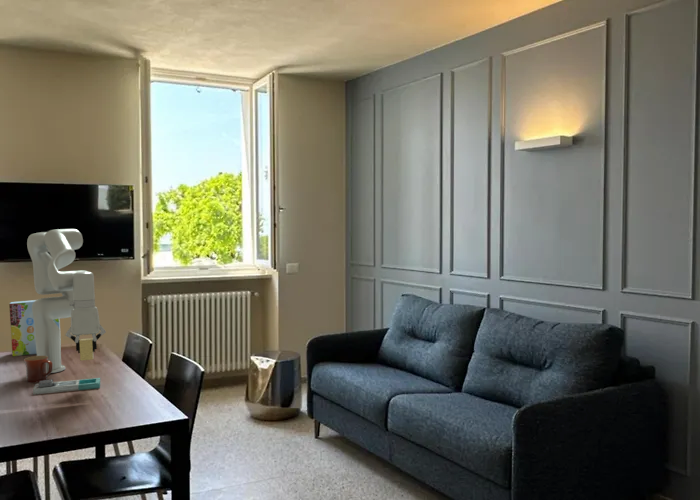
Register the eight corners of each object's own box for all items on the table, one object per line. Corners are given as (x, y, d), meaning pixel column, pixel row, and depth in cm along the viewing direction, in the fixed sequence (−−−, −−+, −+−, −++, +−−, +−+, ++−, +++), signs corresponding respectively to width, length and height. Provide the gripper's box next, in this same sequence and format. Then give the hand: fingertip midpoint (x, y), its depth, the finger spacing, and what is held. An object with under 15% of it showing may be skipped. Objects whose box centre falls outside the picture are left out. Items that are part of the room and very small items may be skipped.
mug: (19, 385, 261) (18, 359, 260) (37, 379, 269) (35, 355, 268) (43, 387, 257) (42, 361, 256) (60, 381, 265) (59, 356, 264)
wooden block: (80, 360, 249) (79, 340, 248) (80, 358, 253) (80, 339, 253) (93, 359, 250) (92, 339, 250) (93, 357, 254) (92, 338, 254)
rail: (33, 397, 242) (32, 389, 242) (35, 392, 250) (35, 383, 250) (100, 391, 250) (99, 382, 250) (100, 385, 258) (100, 377, 258)
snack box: (61, 348, 330) (58, 298, 329) (61, 352, 322) (58, 300, 321) (12, 353, 322) (10, 301, 320) (11, 356, 314) (9, 303, 312)
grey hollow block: (39, 392, 245) (38, 383, 244) (40, 389, 249) (39, 380, 249) (52, 391, 246) (51, 382, 246) (53, 388, 250) (52, 379, 250)
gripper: (59, 307, 244) (61, 355, 245) (108, 304, 250) (110, 351, 250) (61, 304, 251) (63, 352, 252) (108, 301, 257) (110, 348, 258)
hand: (86, 351), depth 251 cm, fingers closed on wooden block, 4 cm apart
